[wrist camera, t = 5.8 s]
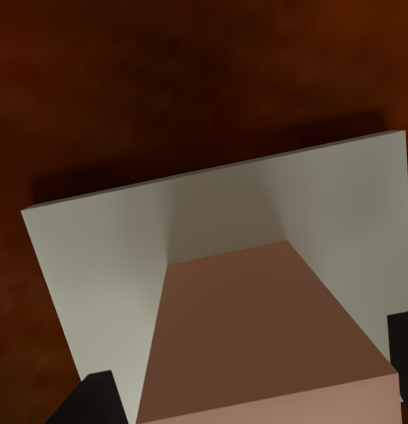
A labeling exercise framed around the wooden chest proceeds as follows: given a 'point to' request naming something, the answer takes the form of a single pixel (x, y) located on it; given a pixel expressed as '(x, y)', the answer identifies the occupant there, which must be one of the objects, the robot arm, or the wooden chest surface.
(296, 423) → the block
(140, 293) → the mat
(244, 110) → the wooden chest surface
